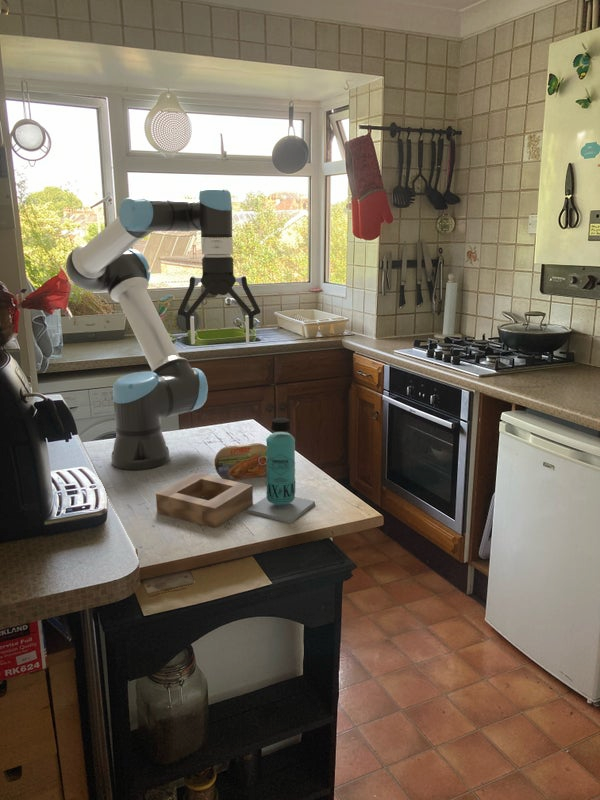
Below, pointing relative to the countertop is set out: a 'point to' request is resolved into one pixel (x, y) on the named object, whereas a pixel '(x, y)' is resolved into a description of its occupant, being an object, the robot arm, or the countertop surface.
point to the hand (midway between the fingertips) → (220, 342)
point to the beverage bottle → (280, 463)
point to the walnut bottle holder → (212, 513)
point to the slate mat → (281, 509)
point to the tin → (241, 461)
